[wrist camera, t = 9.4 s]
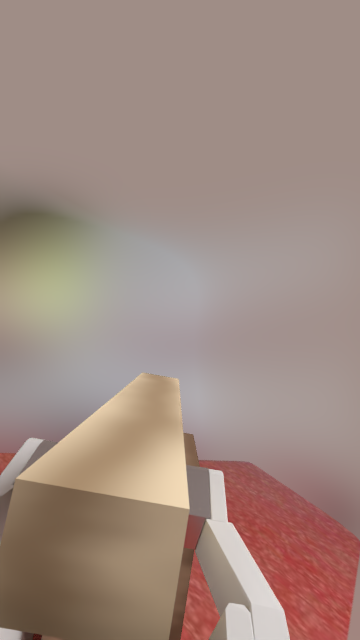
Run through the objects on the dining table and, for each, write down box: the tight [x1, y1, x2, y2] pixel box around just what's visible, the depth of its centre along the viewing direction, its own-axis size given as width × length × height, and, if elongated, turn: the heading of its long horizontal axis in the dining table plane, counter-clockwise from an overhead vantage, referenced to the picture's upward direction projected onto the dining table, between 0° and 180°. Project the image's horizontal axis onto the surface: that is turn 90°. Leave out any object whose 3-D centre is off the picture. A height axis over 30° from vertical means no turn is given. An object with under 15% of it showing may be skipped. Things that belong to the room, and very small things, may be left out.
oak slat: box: [0, 373, 190, 640], centre depth 16 cm, size 4×22×3 cm, turn 1°
